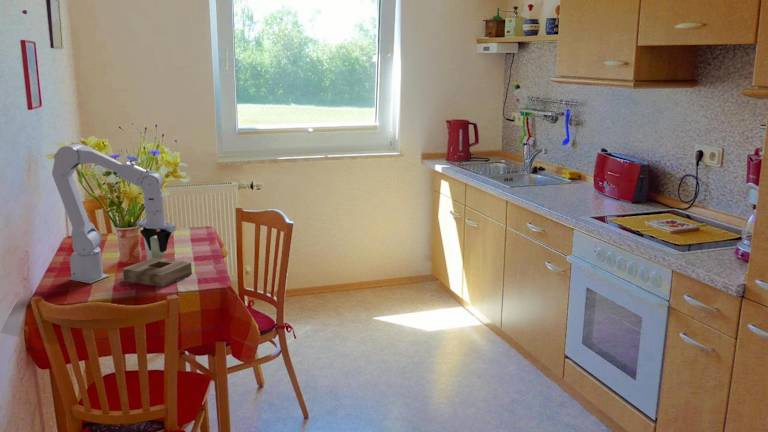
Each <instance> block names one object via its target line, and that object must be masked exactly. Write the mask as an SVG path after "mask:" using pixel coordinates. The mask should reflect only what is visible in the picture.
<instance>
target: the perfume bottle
mask: <svg viewBox="0 0 768 432" xmlns="http://www.w3.org/2000/svg"><path fill="white" fill-rule="evenodd" d="M156 232H158V230H157V231H156ZM143 242H144V248H145V255H146V260H147V259H149V258H152V253H151V251H150V250H149V247H148V244H147V242H146V240H145V238H144V237H143Z"/></svg>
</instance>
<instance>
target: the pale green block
mask: <svg viewBox="0 0 768 432" xmlns="http://www.w3.org/2000/svg"><path fill="white" fill-rule="evenodd" d="M150 243H151V253H152V258H165V257H166V256H165V251H164V252H160V248H159V242H158V238H157V236H152V237H150Z"/></svg>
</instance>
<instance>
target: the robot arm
mask: <svg viewBox="0 0 768 432" xmlns="http://www.w3.org/2000/svg"><path fill="white" fill-rule="evenodd" d="M53 160H54V162H53V166H52V171H51V172H52V173H51V175H52V178H53V180H54V183H55V186H56V188H57V191H58V193H59V195H60V196H59V197H60V199H61V202H62V204H63V207H64V209H65V212H66V214H67V217H68V219H69V222H70V224H71V227H72V228H71V239H72V249H73V251H74V252H72V254H71V255H70V258H69V265H70V267H69V268H70V274H71V277H69V280H70V281H76V282H81V283H86V284H93V283H95V282H98V281H100V280H101V281H102V280H103V279H106V278H108V277H110V274H108V273H104V271H103V262H102V261H103V260H102V252H101V248H100V245H101V244H102V240H103V238H102V235H101V233H100V231H98V230H97V229H96V227H95V224H94V223H93V222H91V221H90V219H89V217H88V214H87V210H86V208H85V206H84V204H83V200H82V198H81V195H80V193H79V190H78V187H77V185H76V182H75V179H74V177H73V174H74V173H75V170H76V169H77V168H78V166H79V165H85V164H94V165H97V166H100V167H101V168H104V169H107V170H110V171H112V172H114V173H117V175H118V177H119V179H121V180H123V181H125V182H127V183H130V184H132V185H134V186H136V187H140V189H141V190H142V191H143V201H144V202H143V203H144V204H143V205H144V213H145V220H137V221H136V228H139V229H141V228H142V229H141V230H140V231H139V232H140V234H141V236H143V239H144V238H145V240H146V242H147V244H148V247H149V250H150V251H151V243H150V237H152V236H157V238H158V242H159V248H160V252H164V253H165V252H166V251H167V249H168V244H169V240H170V237H171V235H172V233H174V232H176V231H177V230H176V224H171V223H168V222H166V219H165V207H164V206H165V205H164V198H163V197H164V196H163V189H162V186H163V184H164V179H163V177H162V175H161V174H160V173H158V172H157V171H151V169H148V168H147V169H144V168H143V167H140V166H138V165H136V164H137V163H136V162H134V161H131V162H129V161H126V162H123V163H122V162H120V161H118V160H116V159H114V158H112V157H110V156H108V155H106V154H104V153H102V152H100V151H98V150H96V149H95V148H93V147H91V146H88V145H84V144H83V143H80V142H73V143H72V142H71V144H68V145H65V146H61V147H60V148H59V149H58V150H57V151H56V153H55V154H54V155H53ZM156 231H157V232H156Z"/></svg>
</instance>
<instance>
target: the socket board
mask: <svg viewBox="0 0 768 432" xmlns="http://www.w3.org/2000/svg"><path fill="white" fill-rule="evenodd" d="M122 273H123V274H122V275H123V276H122V277H123V281H126V282H132V283H135V284H136V283H138V284H142V285H148V286H155V287H158V288H159V287H160V288H164V287H166V286H169V285H170V284H173V283H175V282H177V281H179V280H182V279H184V278H187V277H189V276H190V275H192V274H193V271H192V262H190V261H184V260H183V261H182V260H177V259H170V258H165V257H162V258H149V259H147V258H146V259H144V260H141V261H139V262H136V263H134V264H131V265H128V266H126V267H123V268H122Z"/></svg>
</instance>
